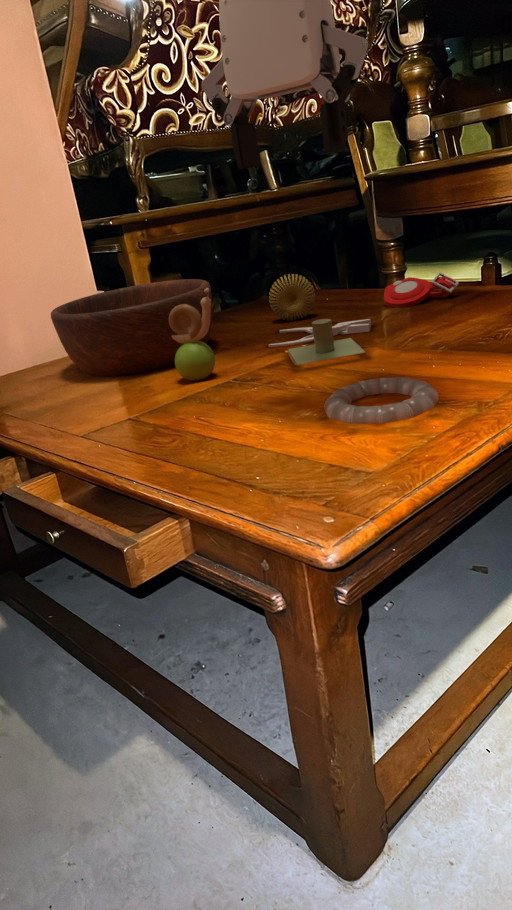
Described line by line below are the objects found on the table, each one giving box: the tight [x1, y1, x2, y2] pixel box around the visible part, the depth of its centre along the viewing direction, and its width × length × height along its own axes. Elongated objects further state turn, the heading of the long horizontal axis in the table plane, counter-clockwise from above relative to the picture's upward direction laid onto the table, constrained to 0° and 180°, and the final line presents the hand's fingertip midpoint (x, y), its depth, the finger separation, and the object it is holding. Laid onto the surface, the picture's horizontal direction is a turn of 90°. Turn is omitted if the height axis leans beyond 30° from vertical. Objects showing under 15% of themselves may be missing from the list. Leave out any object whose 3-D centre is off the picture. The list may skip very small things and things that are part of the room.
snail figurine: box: [169, 288, 216, 382], centre depth 92 cm, size 5×6×12 cm
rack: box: [287, 318, 366, 366], centre depth 93 cm, size 9×9×5 cm
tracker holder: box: [383, 271, 460, 308], centre depth 119 cm, size 12×4×10 cm
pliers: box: [267, 318, 372, 348], centre depth 106 cm, size 10×2×15 cm
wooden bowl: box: [50, 278, 213, 377], centre depth 110 cm, size 25×25×10 cm
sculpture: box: [268, 273, 316, 322], centre depth 119 cm, size 8×4×8 cm, turn 90°
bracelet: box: [323, 376, 440, 425], centre depth 70 cm, size 11×11×2 cm
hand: (290, 160), depth 66 cm, fingers open, 9 cm apart
